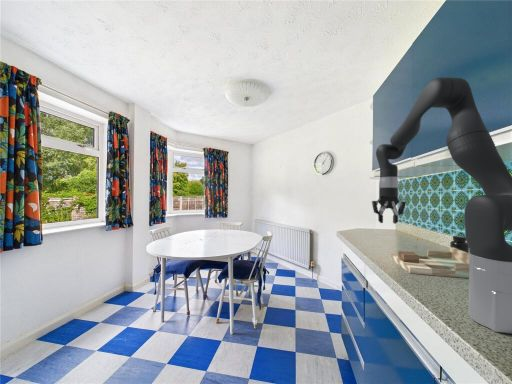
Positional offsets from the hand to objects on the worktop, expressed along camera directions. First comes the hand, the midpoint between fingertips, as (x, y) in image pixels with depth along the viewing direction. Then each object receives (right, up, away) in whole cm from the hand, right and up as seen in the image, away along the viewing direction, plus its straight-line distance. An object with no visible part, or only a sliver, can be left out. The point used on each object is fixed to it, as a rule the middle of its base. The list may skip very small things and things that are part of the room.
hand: (388, 222), depth 99 cm
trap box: (+18, -20, -4) cm, 27 cm away
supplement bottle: (+40, -20, +7) cm, 46 cm away
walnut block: (+8, -17, -2) cm, 19 cm away
